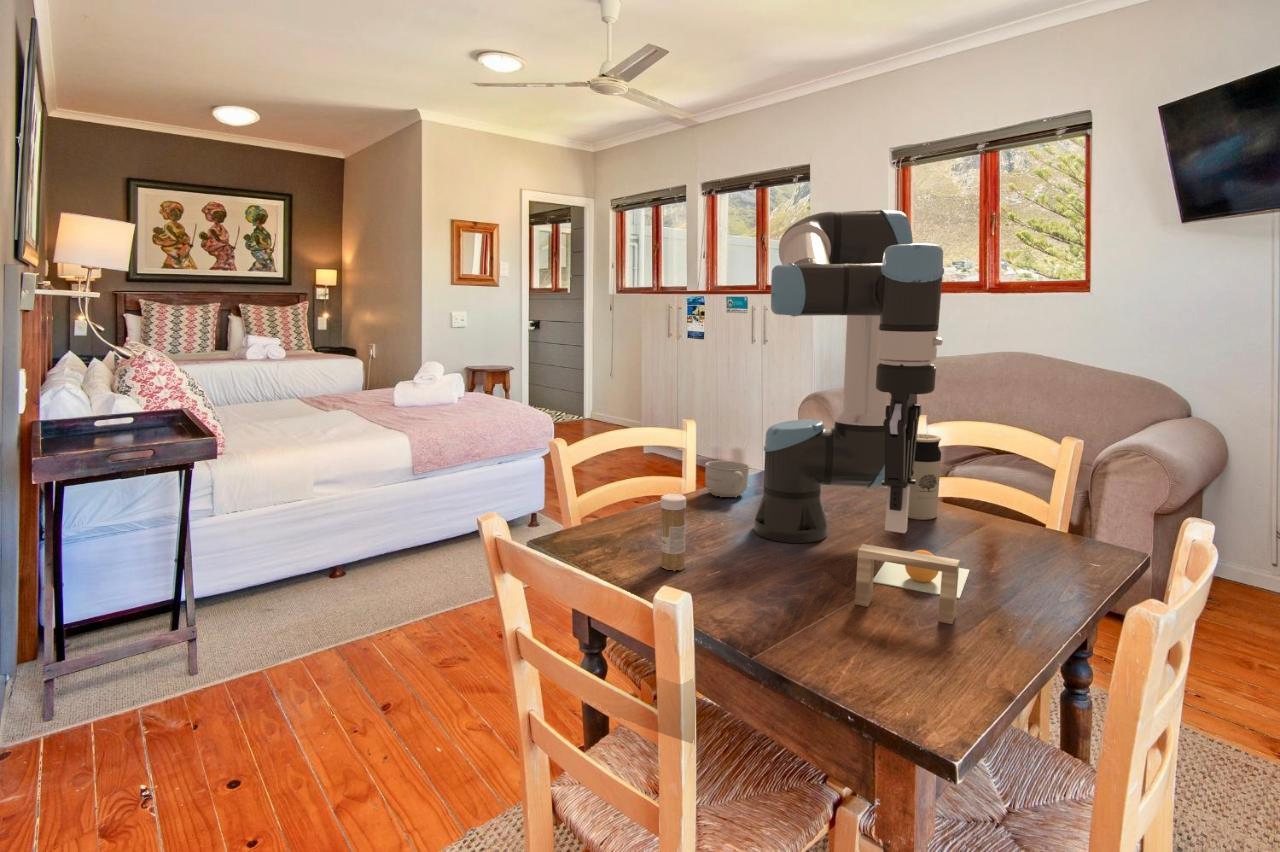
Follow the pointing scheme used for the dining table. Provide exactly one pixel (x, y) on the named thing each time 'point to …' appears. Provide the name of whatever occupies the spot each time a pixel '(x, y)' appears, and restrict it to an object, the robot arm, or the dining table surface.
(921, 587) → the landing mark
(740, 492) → the teacup
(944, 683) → the dining table surface
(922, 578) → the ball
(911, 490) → the travel mug
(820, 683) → the dining table surface
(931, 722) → the dining table surface
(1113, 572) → the dining table surface
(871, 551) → the bridge
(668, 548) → the sprinkles bottle
